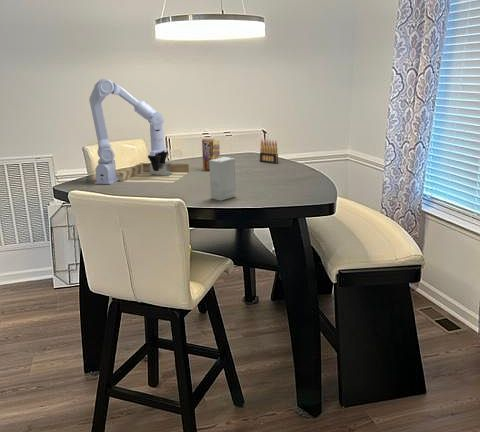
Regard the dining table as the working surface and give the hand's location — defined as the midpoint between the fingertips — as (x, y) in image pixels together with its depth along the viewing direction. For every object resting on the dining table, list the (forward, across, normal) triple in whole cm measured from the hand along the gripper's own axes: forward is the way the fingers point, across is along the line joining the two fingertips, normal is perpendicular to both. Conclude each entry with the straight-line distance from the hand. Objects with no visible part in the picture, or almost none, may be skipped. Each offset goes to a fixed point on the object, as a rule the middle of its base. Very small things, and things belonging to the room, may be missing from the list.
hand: (159, 169), depth 232 cm
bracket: (+2, +2, 0) cm, 3 cm away
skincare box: (+4, -36, -38) cm, 53 cm away
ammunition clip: (+4, +41, -44) cm, 61 cm away
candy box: (+4, +16, -20) cm, 26 cm away
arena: (+4, -3, 0) cm, 5 cm away
